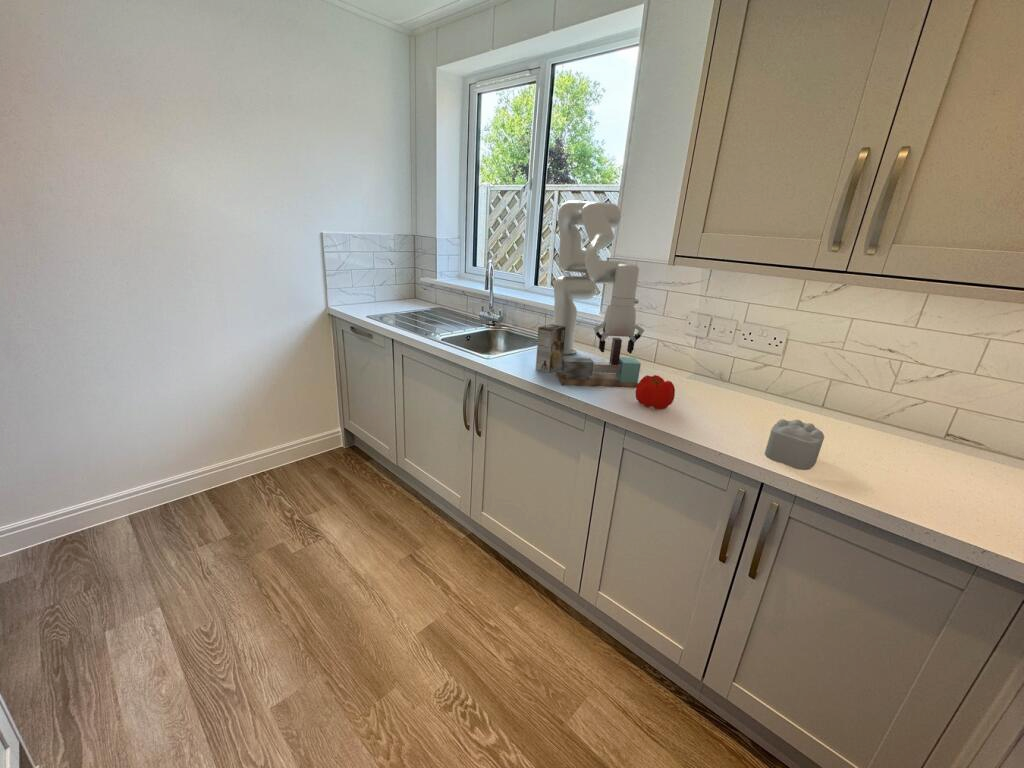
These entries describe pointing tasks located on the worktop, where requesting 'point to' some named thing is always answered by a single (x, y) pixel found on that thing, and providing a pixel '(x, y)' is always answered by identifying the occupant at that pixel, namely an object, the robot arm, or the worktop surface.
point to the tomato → (655, 392)
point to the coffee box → (550, 347)
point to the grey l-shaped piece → (614, 360)
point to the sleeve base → (596, 381)
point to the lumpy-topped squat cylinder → (794, 444)
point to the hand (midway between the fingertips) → (615, 351)
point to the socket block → (629, 370)
